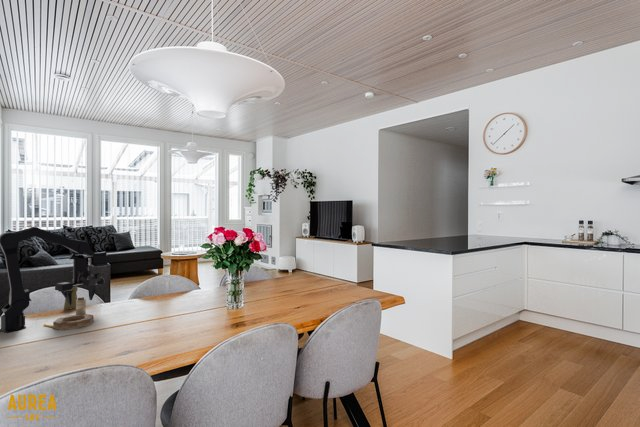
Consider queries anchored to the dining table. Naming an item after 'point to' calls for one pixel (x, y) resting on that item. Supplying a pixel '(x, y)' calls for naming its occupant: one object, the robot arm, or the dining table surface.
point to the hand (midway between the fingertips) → (80, 302)
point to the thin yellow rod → (48, 325)
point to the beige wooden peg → (81, 305)
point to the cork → (74, 298)
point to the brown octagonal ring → (73, 321)
